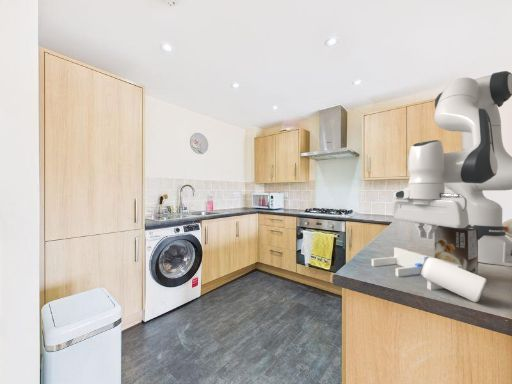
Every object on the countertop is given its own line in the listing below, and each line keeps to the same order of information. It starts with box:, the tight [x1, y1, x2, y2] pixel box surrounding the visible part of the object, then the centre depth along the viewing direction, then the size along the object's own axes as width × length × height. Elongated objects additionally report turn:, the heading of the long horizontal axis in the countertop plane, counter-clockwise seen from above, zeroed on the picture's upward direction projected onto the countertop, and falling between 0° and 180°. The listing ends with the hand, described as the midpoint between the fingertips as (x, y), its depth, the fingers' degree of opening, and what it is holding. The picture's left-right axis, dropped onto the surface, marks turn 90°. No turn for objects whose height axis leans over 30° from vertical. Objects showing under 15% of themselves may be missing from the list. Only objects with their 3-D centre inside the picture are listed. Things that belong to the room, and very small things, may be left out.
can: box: [419, 257, 488, 303], centre depth 57 cm, size 6×6×12 cm
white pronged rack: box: [371, 246, 462, 291], centre depth 71 cm, size 12×21×6 cm, turn 15°
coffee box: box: [433, 225, 479, 276], centre depth 69 cm, size 9×6×16 cm
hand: (425, 238), depth 66 cm, fingers closed
